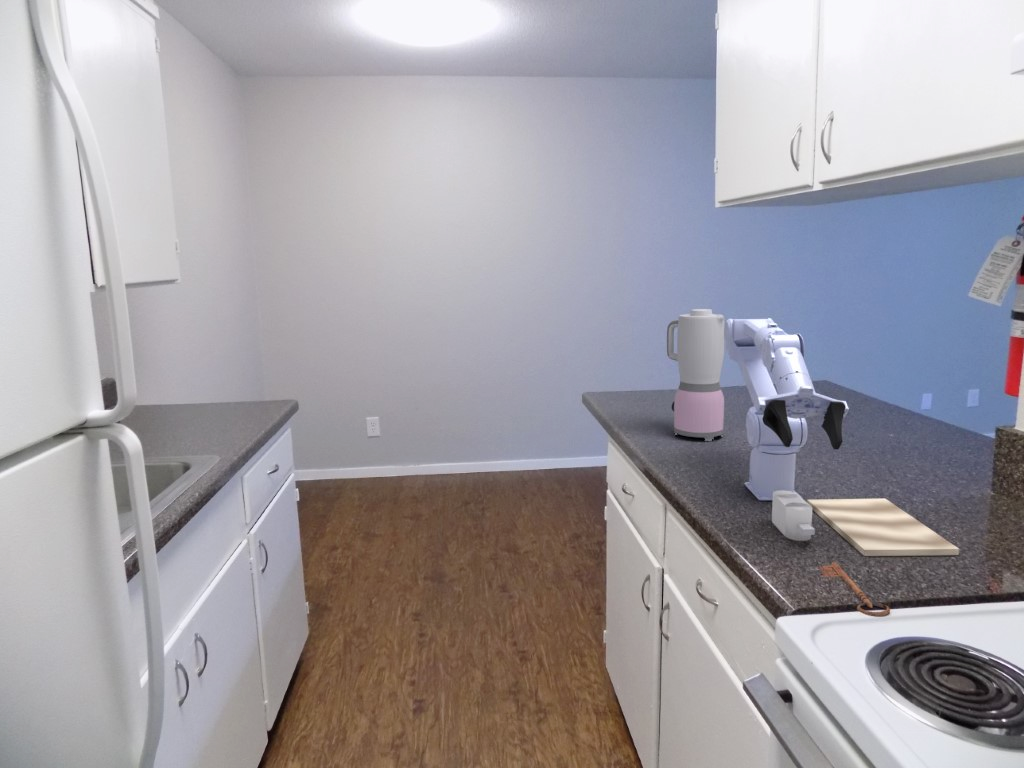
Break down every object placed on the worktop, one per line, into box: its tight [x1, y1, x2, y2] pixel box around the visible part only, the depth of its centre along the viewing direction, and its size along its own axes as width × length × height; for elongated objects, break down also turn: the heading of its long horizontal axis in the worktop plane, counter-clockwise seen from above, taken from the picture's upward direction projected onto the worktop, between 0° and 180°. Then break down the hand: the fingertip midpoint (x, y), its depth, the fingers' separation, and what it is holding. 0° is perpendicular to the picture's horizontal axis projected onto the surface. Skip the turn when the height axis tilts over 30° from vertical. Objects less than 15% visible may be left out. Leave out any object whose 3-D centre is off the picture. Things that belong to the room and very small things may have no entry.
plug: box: [771, 490, 816, 542], centre depth 114 cm, size 12×4×5 cm, turn 178°
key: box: [818, 561, 891, 617], centre depth 95 cm, size 6×1×15 cm
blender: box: [666, 308, 725, 440], centre depth 173 cm, size 16×12×32 cm
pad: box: [806, 497, 960, 557], centre depth 115 cm, size 22×14×1 cm, turn 178°
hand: (813, 444), depth 109 cm, fingers open, 7 cm apart
